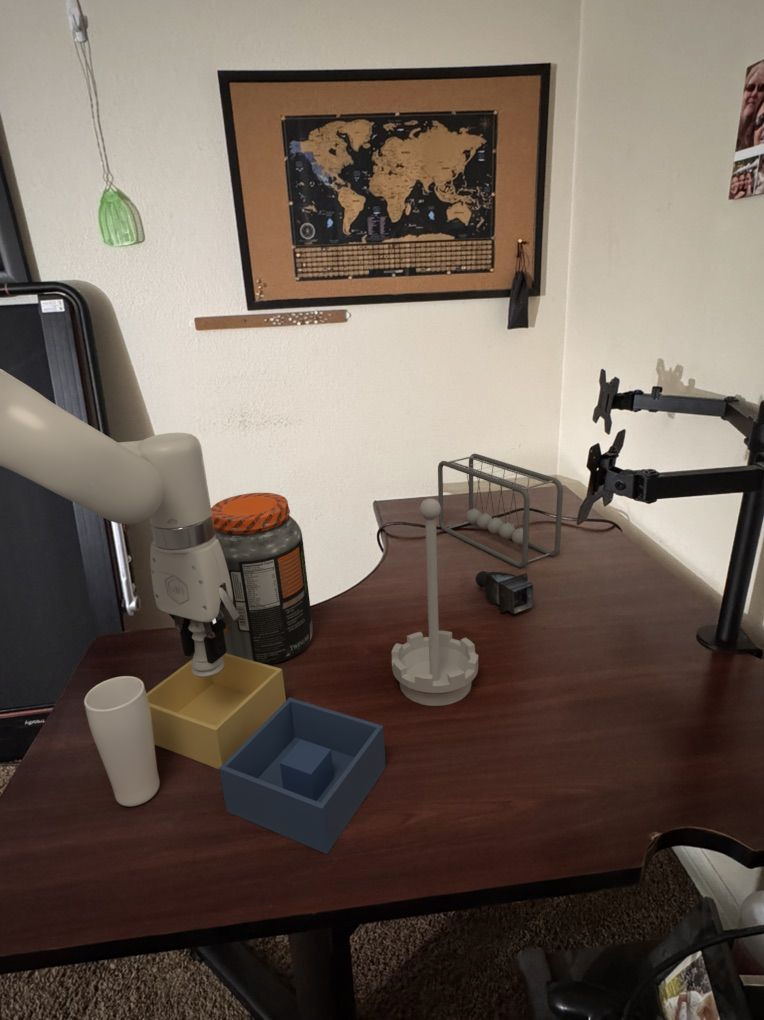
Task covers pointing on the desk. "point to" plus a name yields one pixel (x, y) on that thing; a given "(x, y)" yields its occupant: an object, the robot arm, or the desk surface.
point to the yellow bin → (214, 708)
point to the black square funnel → (507, 590)
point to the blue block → (307, 769)
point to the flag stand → (434, 642)
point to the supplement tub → (264, 577)
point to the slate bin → (312, 823)
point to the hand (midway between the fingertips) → (205, 653)
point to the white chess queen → (202, 653)
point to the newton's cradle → (496, 524)
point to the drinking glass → (124, 737)
